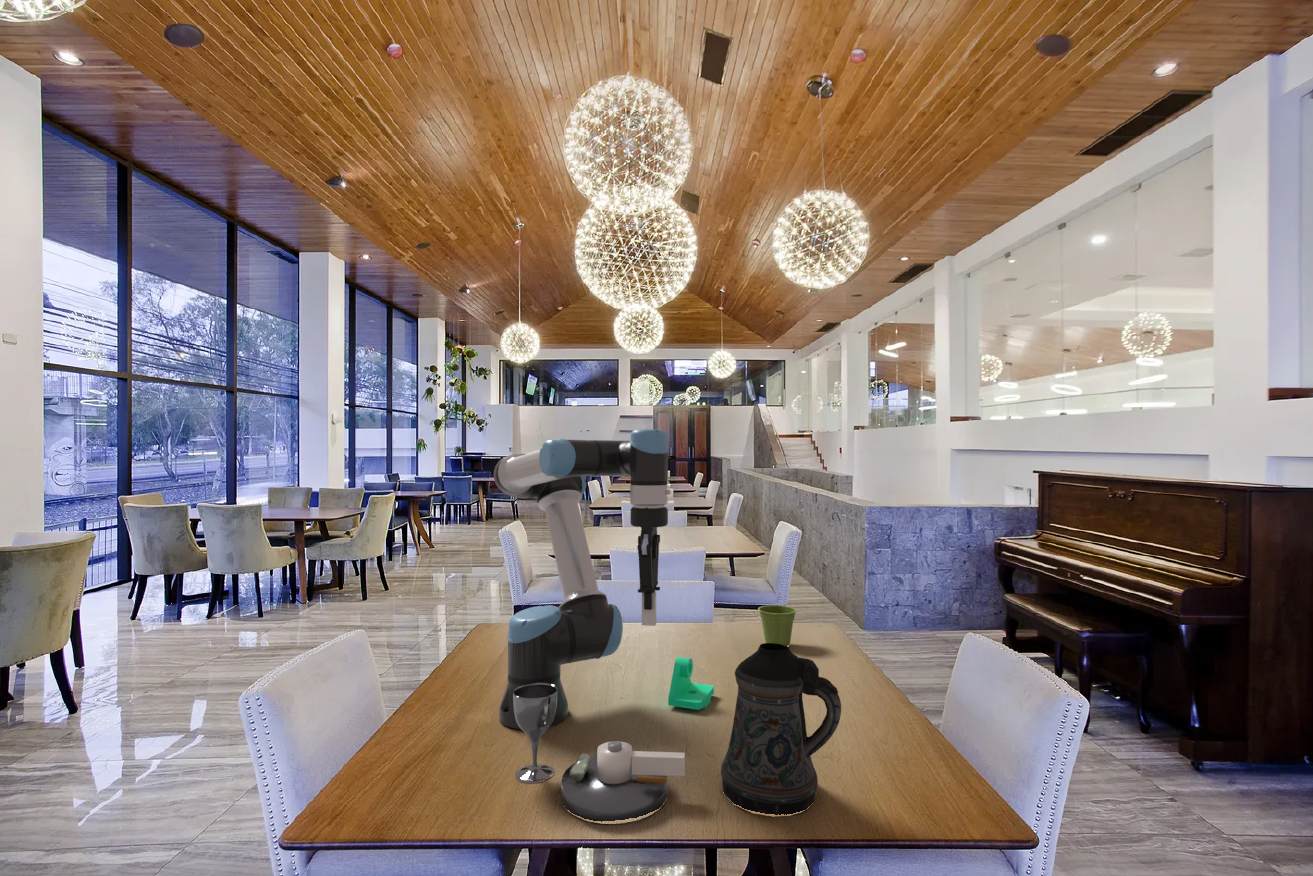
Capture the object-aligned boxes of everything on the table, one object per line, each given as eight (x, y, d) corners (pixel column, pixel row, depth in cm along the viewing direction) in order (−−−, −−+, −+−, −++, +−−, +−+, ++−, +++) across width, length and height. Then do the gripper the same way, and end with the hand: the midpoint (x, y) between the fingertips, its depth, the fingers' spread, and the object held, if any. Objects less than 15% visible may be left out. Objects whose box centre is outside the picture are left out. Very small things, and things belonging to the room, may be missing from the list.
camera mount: (700, 715, 143) (699, 668, 144) (668, 710, 146) (668, 664, 146) (715, 696, 154) (714, 653, 155) (685, 692, 157) (685, 650, 158)
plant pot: (802, 644, 198) (802, 607, 198) (789, 654, 188) (788, 615, 188) (766, 638, 204) (766, 603, 205) (751, 647, 194) (751, 610, 195)
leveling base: (547, 819, 101) (547, 785, 101) (577, 766, 119) (578, 736, 119) (659, 829, 98) (659, 794, 99) (673, 773, 116) (673, 743, 116)
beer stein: (713, 770, 117) (713, 633, 118) (816, 767, 119) (815, 631, 120) (730, 821, 101) (730, 662, 102) (849, 816, 102) (848, 659, 103)
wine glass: (537, 759, 122) (538, 679, 122) (565, 772, 117) (566, 689, 117) (503, 775, 115) (504, 691, 116) (531, 789, 110) (532, 702, 111)
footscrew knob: (594, 783, 106) (594, 751, 106) (600, 766, 112) (600, 736, 112) (684, 786, 105) (684, 754, 105) (685, 769, 111) (685, 738, 111)
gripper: (663, 508, 121) (663, 634, 120) (671, 504, 134) (671, 617, 133) (624, 508, 122) (624, 632, 121) (636, 503, 135) (636, 616, 134)
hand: (649, 624), depth 127 cm, fingers closed
